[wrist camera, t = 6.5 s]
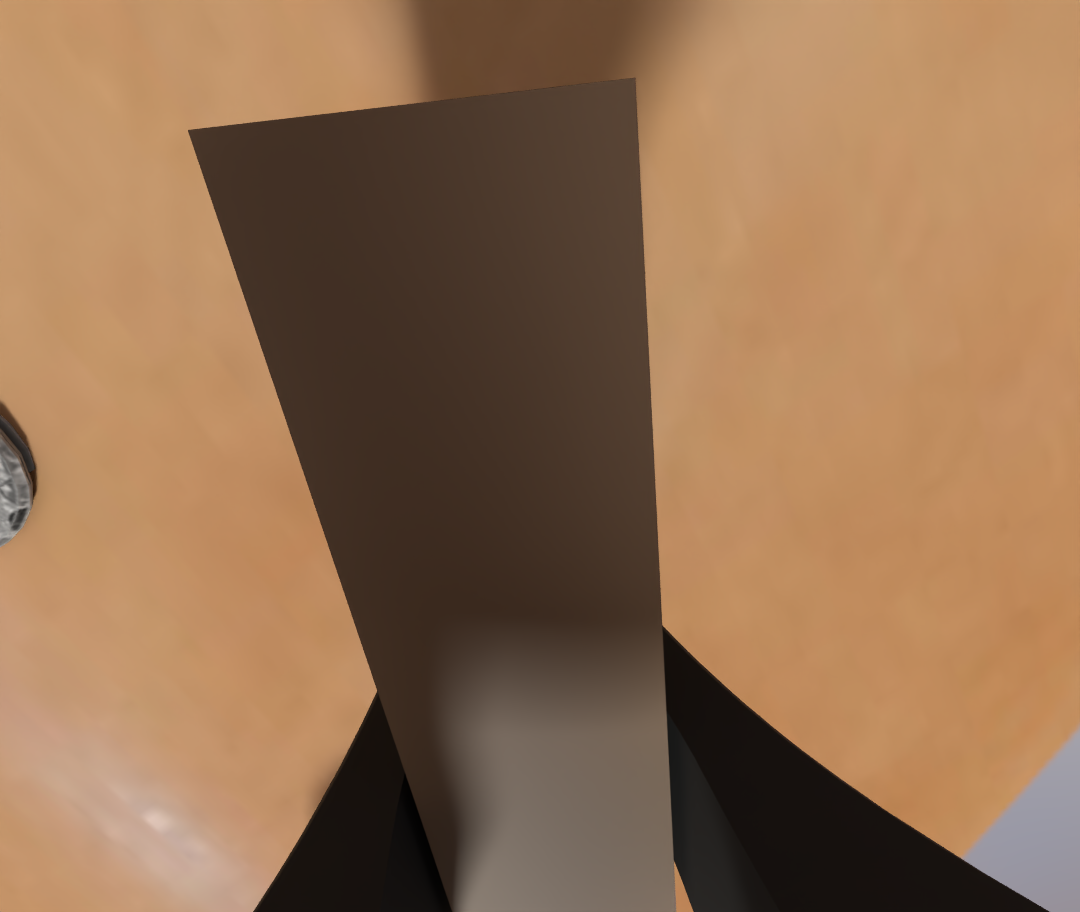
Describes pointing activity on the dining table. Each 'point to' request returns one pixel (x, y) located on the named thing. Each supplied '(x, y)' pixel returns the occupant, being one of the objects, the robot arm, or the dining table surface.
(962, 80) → the dining table surface
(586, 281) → the dark wooden brick
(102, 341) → the dining table surface
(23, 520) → the knife
